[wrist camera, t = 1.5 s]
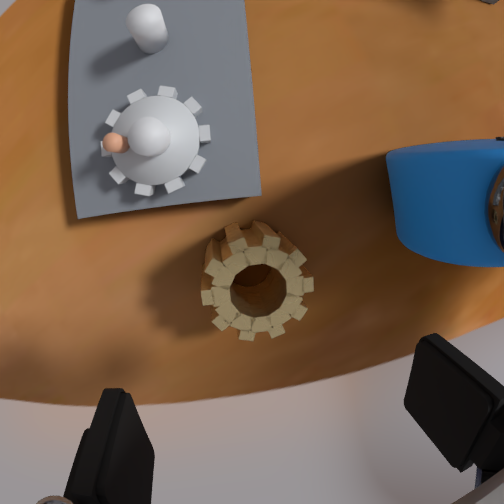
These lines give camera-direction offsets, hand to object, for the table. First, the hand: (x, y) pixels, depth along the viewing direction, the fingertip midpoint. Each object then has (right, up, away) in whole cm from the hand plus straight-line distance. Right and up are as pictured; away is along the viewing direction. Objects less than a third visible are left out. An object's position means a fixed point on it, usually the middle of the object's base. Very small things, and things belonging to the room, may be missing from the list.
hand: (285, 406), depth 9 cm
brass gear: (-1, +4, +14) cm, 14 cm away
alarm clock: (+13, +11, +14) cm, 22 cm away
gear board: (-7, +17, +9) cm, 21 cm away
